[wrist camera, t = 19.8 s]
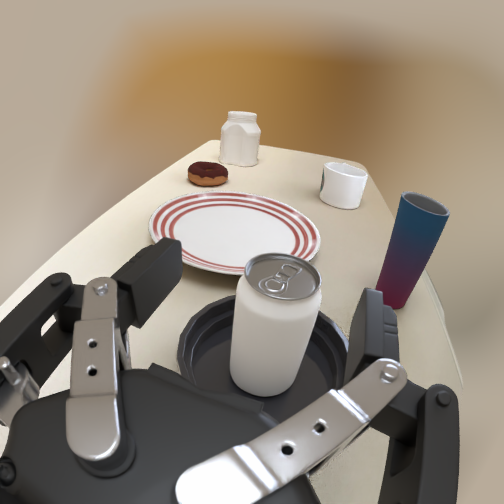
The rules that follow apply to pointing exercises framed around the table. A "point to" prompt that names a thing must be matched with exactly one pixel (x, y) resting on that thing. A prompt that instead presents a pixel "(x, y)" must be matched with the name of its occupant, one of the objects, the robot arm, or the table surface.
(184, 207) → the dinner plate
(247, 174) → the table surface
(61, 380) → the table surface
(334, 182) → the mug
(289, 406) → the pan
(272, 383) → the can
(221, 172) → the donut
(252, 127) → the jar
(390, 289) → the cup
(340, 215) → the table surface
